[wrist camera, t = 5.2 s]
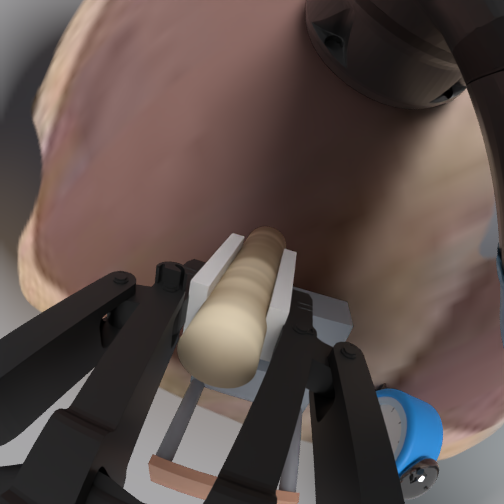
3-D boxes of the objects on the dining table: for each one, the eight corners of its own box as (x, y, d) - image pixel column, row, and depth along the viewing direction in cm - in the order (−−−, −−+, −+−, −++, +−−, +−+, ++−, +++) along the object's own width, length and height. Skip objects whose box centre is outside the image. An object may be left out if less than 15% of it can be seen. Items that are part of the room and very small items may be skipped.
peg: (252, 221, 20) (181, 314, 8) (291, 233, 19) (267, 344, 8) (242, 257, 21) (174, 371, 10) (279, 268, 20) (245, 397, 9)
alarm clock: (398, 363, 26) (430, 478, 12) (428, 380, 26) (461, 479, 12) (324, 423, 31) (321, 523, 17) (357, 435, 31) (361, 525, 17)
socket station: (221, 264, 25) (141, 382, 12) (347, 301, 25) (375, 441, 11) (197, 380, 31) (150, 480, 17) (291, 406, 30) (278, 515, 17)
